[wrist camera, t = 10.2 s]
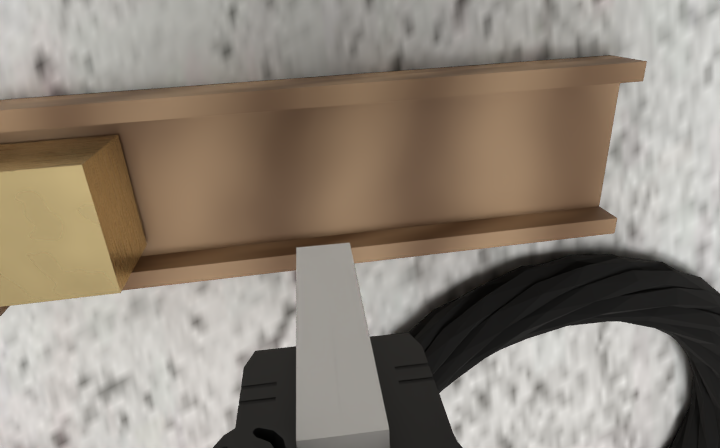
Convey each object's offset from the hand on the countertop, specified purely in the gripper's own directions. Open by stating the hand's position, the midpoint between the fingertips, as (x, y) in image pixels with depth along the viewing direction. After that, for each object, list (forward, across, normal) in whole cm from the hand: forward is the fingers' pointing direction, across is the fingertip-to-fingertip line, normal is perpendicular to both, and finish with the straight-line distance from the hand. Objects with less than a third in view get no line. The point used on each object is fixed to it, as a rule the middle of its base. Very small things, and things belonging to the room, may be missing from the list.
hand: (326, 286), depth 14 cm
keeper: (+8, -10, 0) cm, 13 cm away
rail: (+10, -1, 0) cm, 10 cm away
